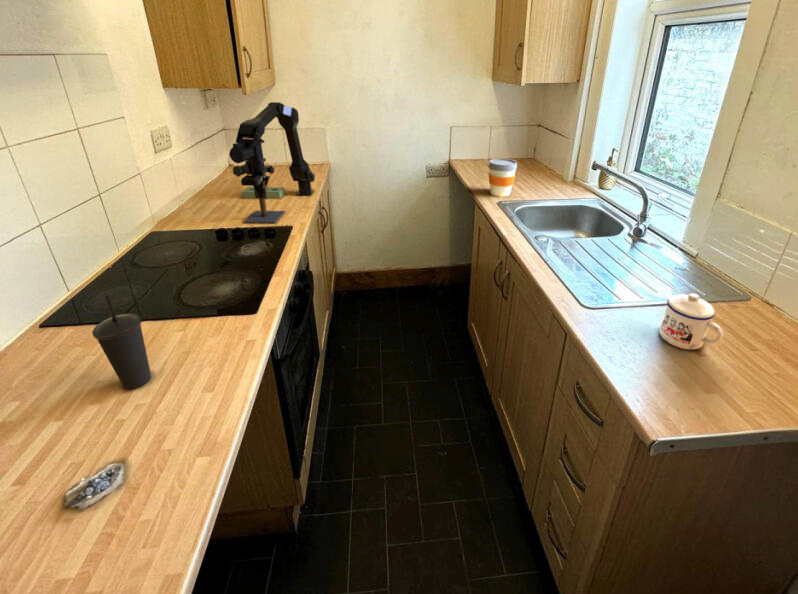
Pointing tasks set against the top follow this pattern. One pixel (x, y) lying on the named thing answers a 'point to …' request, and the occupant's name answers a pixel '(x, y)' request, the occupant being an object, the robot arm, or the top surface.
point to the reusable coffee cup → (501, 176)
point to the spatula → (262, 201)
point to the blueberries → (95, 486)
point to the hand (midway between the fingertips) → (261, 196)
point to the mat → (258, 218)
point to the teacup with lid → (688, 322)
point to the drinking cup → (124, 347)
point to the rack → (271, 192)
